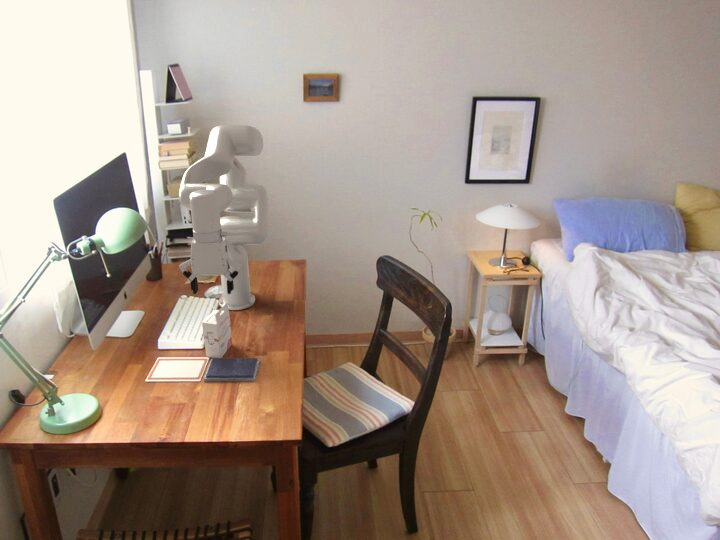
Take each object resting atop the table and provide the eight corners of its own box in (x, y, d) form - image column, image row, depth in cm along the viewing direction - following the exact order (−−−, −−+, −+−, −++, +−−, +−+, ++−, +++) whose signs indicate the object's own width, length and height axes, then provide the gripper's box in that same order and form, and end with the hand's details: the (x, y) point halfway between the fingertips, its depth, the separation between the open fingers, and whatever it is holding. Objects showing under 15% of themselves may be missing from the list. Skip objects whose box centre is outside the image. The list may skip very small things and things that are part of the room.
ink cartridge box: (217, 342, 174) (213, 299, 168) (232, 344, 173) (228, 301, 168) (205, 357, 167) (200, 313, 161) (220, 359, 166) (216, 315, 160)
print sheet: (158, 358, 166) (157, 357, 166) (209, 357, 166) (209, 356, 166) (144, 381, 155) (144, 380, 155) (200, 381, 155) (200, 380, 155)
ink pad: (211, 361, 164) (211, 357, 164) (259, 361, 165) (259, 357, 164) (203, 381, 155) (203, 376, 155) (255, 381, 156) (254, 376, 155)
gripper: (241, 231, 159) (245, 286, 165) (179, 231, 158) (185, 286, 165) (237, 240, 152) (241, 297, 158) (172, 239, 151) (178, 297, 158)
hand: (212, 292), depth 162 cm, fingers open, 9 cm apart
